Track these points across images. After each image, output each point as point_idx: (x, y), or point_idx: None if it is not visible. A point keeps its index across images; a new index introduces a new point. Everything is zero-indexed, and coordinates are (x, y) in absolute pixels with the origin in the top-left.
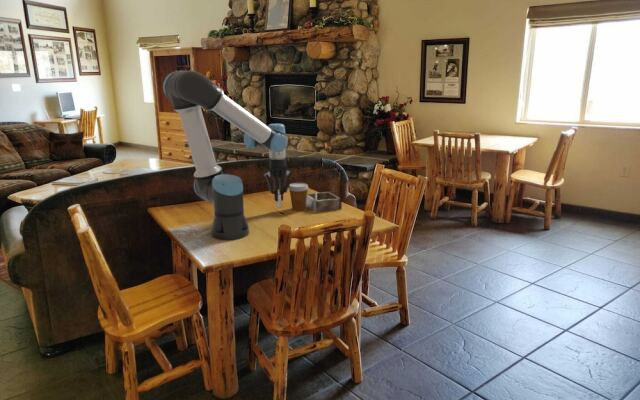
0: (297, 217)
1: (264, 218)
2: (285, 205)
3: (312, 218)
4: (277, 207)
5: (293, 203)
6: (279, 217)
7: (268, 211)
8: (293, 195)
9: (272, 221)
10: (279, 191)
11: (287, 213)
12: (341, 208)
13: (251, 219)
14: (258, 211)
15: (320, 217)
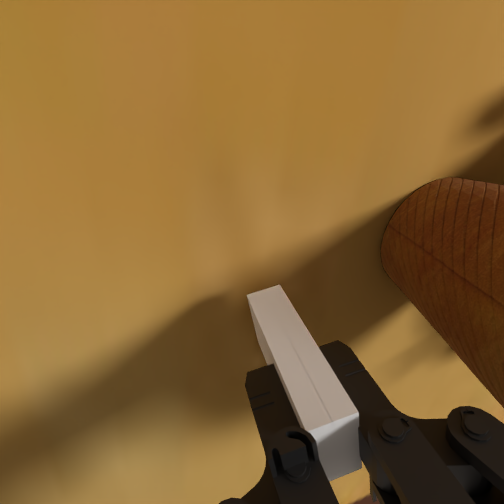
0: None
1: (124, 448)
2: (361, 65)
3: (426, 418)
4: (252, 316)
5: (424, 315)
6: (241, 420)
7: (149, 282)
8: (498, 401)
9: (187, 486)
10: (379, 462)
11: (314, 339)
12: None
13: (9, 478)
14: (26, 277)
15: (469, 401)
